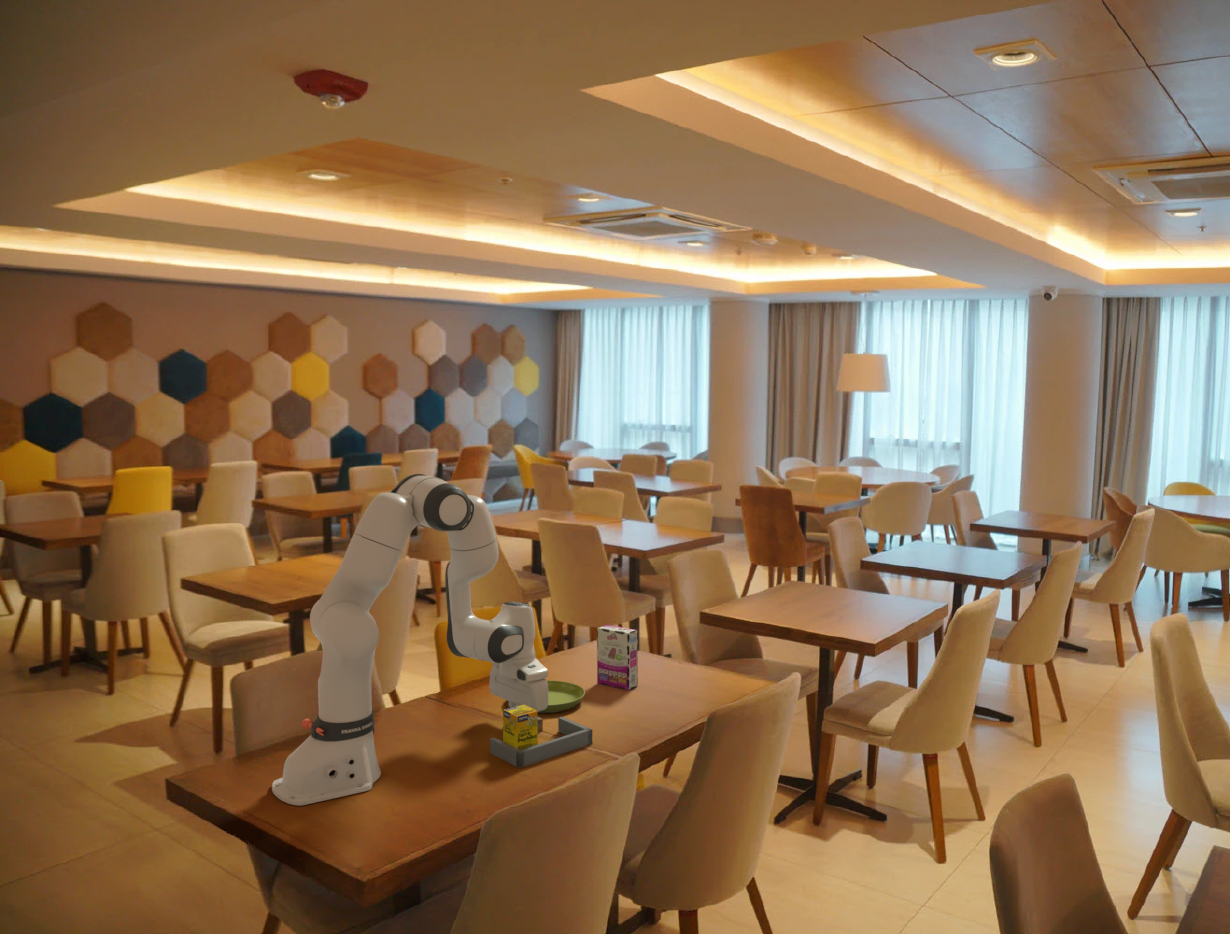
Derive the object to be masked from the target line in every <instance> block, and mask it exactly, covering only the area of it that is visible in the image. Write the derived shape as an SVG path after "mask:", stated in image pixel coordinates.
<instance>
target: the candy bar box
mask: <svg viewBox="0 0 1230 934" xmlns="http://www.w3.org/2000/svg"><path fill="white" fill-rule="evenodd" d="M638 637H639V634H638V629H632V628H627V627H623V626H616V625H615V626H614V625H610V624H606V625H602V626H599V627H597V628H596V643H597V644H596V651H597V652H596V657H597V659H596V664H597V665H596V666H597V668H596V670H597V674H596V676H597V680H596V681H597V682H596V683H597V684H599V685H602V686H606V687H611V688H616V689H620V690H626V691H630V690H633V689H636V688H637V687H638V685H639V684H638V679H639V678H638V677H639V676H638V675H639V674H638V673H639V672H638V668H639V667H638V662H639V661H638V660H639V659H638V656H639V655H638V654H639V653H638V649H639V648H638V647H639V646H638V645H639V644H638Z"/></svg>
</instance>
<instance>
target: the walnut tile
mask: <svg viewBox="0 0 1230 934" xmlns="http://www.w3.org/2000/svg"><path fill="white" fill-rule="evenodd" d="M543 721H544V719H543V718H541V717H540V716H538V733H539V732H543V730H544V727H543V726H544V723H543Z"/></svg>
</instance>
